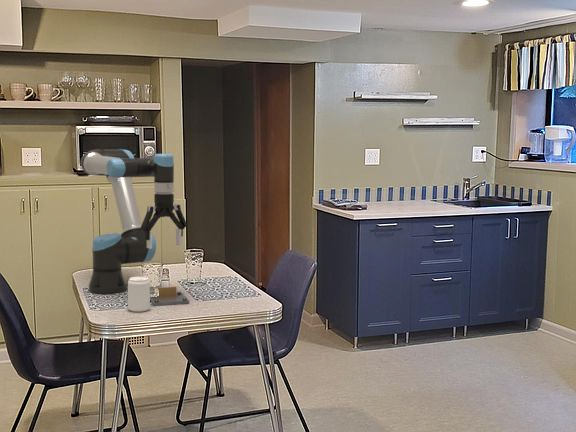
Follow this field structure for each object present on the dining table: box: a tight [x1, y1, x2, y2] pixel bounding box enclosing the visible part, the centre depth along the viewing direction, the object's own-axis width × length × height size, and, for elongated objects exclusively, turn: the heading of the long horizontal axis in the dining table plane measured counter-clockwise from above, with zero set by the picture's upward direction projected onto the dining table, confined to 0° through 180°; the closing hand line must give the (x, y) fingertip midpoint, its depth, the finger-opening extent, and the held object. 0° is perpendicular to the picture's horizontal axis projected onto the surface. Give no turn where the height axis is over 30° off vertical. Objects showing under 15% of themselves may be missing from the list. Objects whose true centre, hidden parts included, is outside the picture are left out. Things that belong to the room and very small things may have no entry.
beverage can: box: [127, 276, 151, 313], centre depth 264 cm, size 8×8×12 cm
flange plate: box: [150, 286, 190, 307], centre depth 279 cm, size 14×14×4 cm
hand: (164, 246), depth 279 cm, fingers open, 13 cm apart
